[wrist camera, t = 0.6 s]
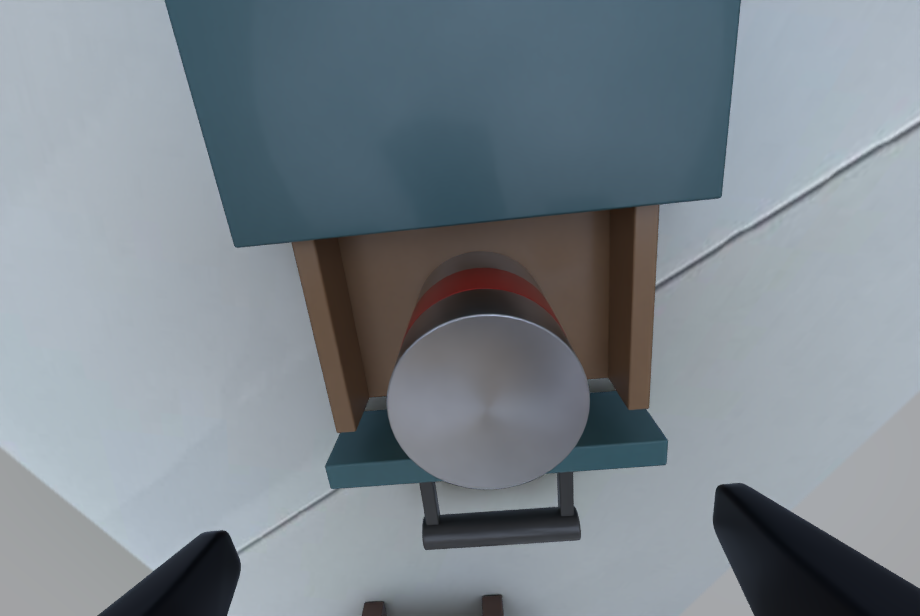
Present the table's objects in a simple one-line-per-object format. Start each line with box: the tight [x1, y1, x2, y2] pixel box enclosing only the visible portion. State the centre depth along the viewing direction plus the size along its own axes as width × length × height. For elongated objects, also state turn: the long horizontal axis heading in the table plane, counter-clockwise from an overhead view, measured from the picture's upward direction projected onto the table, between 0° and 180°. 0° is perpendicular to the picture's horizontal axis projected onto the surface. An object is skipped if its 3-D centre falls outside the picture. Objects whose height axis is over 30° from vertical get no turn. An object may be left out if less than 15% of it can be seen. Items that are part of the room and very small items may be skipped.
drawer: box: [292, 205, 668, 550], centre depth 17 cm, size 19×13×4 cm
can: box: [387, 251, 590, 490], centre depth 14 cm, size 5×5×7 cm
